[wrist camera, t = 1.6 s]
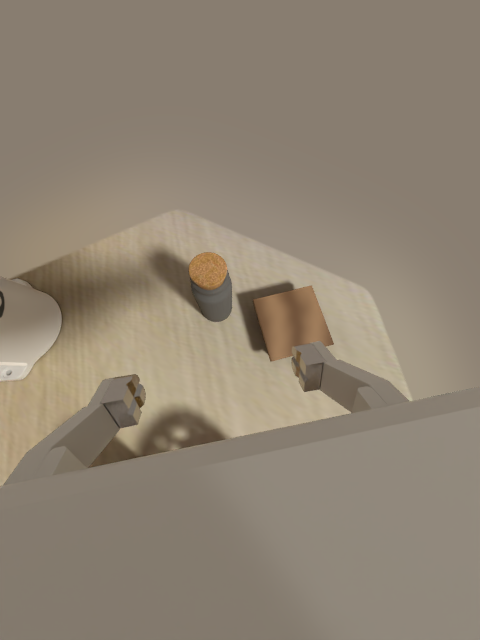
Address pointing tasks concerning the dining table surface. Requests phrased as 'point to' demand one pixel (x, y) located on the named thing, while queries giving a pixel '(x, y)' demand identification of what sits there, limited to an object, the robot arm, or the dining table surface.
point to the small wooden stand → (291, 321)
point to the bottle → (211, 286)
